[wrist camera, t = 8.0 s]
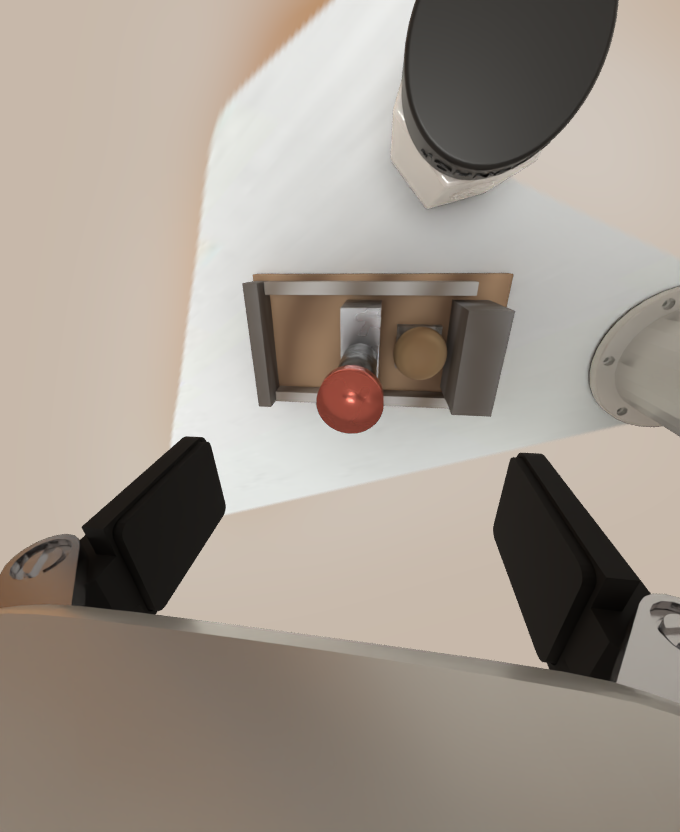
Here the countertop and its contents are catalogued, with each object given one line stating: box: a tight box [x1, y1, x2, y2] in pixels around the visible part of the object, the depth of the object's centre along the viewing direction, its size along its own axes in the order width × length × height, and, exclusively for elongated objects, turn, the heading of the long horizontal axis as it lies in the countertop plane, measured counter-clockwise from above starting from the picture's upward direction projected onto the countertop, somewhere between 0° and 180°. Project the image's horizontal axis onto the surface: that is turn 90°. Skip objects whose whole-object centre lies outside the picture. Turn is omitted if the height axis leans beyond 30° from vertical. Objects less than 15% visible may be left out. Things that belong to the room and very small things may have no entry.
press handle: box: [316, 300, 384, 433], centre depth 24 cm, size 4×8×13 cm, turn 0°
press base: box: [242, 273, 515, 416], centre depth 28 cm, size 22×12×7 cm, turn 90°
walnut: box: [393, 327, 447, 380], centre depth 27 cm, size 4×4×4 cm
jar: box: [390, 0, 618, 209], centre depth 18 cm, size 9×8×12 cm
